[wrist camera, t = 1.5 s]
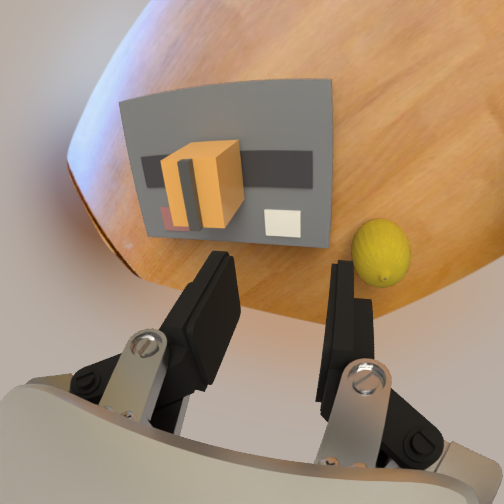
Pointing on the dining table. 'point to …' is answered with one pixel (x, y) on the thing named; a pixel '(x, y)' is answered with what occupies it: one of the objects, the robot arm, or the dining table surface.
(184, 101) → the switch panel
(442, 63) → the dining table surface
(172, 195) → the orange block
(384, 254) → the lemon
